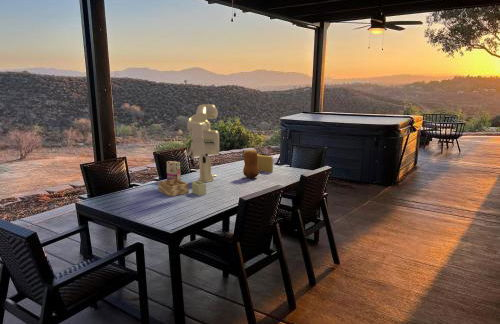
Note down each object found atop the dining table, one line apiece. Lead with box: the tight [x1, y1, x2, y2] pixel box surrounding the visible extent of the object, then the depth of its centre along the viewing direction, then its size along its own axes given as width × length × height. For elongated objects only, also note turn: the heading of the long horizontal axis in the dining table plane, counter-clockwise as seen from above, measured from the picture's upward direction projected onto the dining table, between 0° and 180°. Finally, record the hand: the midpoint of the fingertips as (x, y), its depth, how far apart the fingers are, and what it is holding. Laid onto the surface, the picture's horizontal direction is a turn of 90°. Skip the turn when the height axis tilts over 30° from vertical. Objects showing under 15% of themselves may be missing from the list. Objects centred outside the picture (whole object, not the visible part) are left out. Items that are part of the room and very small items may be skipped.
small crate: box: [191, 180, 207, 197], centre depth 257 cm, size 6×10×8 cm, turn 38°
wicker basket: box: [157, 179, 190, 197], centre depth 261 cm, size 15×19×7 cm
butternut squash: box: [242, 149, 260, 180], centre depth 303 cm, size 14×13×25 cm
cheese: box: [257, 153, 274, 173], centre depth 333 cm, size 22×10×15 cm, turn 48°
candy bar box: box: [165, 160, 182, 181], centre depth 292 cm, size 11×5×16 cm, turn 62°
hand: (198, 163), depth 253 cm, fingers open, 9 cm apart
